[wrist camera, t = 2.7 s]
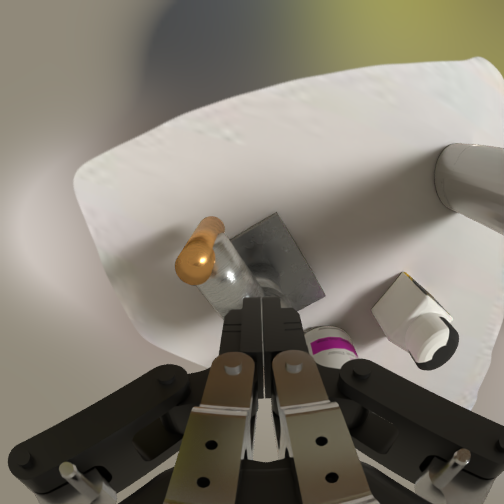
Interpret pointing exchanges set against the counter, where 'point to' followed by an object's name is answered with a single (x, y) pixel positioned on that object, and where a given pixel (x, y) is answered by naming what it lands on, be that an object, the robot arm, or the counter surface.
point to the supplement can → (330, 346)
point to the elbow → (220, 270)
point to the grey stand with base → (278, 262)
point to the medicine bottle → (416, 323)
